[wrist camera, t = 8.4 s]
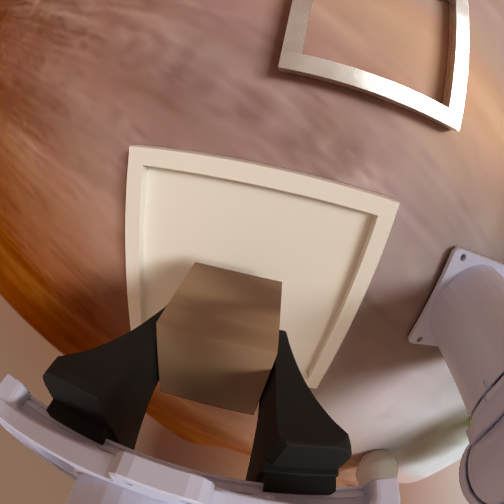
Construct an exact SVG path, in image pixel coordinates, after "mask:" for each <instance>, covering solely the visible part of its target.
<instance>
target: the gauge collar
mask: <svg viewBox="0 0 504 504" xmlns="http://www.w3.org/2000/svg"><path fill="white" fill-rule="evenodd" d="M446 1H448V2H449V45H448V59H447V70H446V78H445V86H444V93H443V100H442V104H441V103H439V102H437V101H435V100H433V99H431V98H429V97H427V96H424V95H422V94H420V93H418V92H416V91H414V90H411V89H409V88H407V87H405V86H402V85H400V84H397V83H395V82H392V81H390V80H387V79H385V78H382V77H379V76H377V75H374V74H371V73H368V72H365V71H362V70H359V69H356V68H353V67H350V66H347V65H343V64H340V63H336V62H333V61H329V60H325V59H321V58H317V57H313V56H309V55H304V54H302V51H303V46H304V41H305V36H306V31H307V27H308V22H309V17H310V12H311V7H312V2H313V0H293V1H292V5H291V10H290V14H289V19H288V23H287V28H286V32H285V37H284V42H283V46H282V51H281V56H280V60H279V65H278V70H279V71H281V72H286V73H291V74H296V75H300V76H305V77H309V78H313V79H317V80H321V81H325V82H329V83H333V84H336V85H340V86H343V87H346V88H350V89H353V90H356V91H359V92H362V93H365V94H368V95H371V96H374V97H377V98H379V99H382V100H385V101H387V102H390V103H393V104H395V105H398V106H400V107H402V108H405V109H407V110H410V111H412V112H414V113H416V114H419V115H421V116H423V117H425V118H427V119H429V120H432V121H434V122H436V123H438V124H440V125H442V126H444V127H446V128H448V129H450V130H454V131H460V126H461V121H462V115H463V108H464V102H465V94H466V86H467V75H468V62H469V7H468V0H446Z"/></svg>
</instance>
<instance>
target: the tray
mask: <svg viewBox="0 0 504 504" xmlns="http://www.w3.org/2000/svg"><path fill="white" fill-rule="evenodd" d="M399 204H400V203H399V202H397V201H396V200H395V199H393V198H391V197H388V196H385V195H382V194H379V193H376V192H372V191H369V190H366V189H363V188H359V187H356V186H352V185H349V184H345V183H342V182H338V181H335V180H331V179H327V178H323V177H320V176H316V175H312V174H308V173H304V172H300V171H295V170H291V169H287V168H282V167H278V166H273V165H269V164H264V163H259V162H254V161H249V160H244V159H239V158H233V157H228V156H222V155H216V154H210V153H204V152H197V151H190V150H183V149H176V148H168V147H160V146H151V145H141V144H139V145H133V146H130V148H129V159H128V171H127V187H126V213H125V254H126V280H127V296H128V308H129V319H130V329H131V330H133V329H135V328H136V327H138V326H139V325H141V324H142V323H144V322H145V321H147V320H148V319H149V318H151V317H152V316H153V315H155V314H156V313H157V312H159V311H160V310H161V309H163V308H164V307H165V306H167V305H168V303H169V302H170V300H171V298H172V297H173V295H174V294H175V292H176V291H177V289H178V287H179V286H180V284H181V283H182V281H183V280H184V278H185V277H186V275H187V274H188V272H189V271H190V269H191V268H192V266H193V265H194V263H195V262H198V263H202V264H206V265H210V266H214V267H219V268H223V269H227V270H232V271H236V272H240V273H245V274H249V275H253V276H258V277H262V278H267V279H271V280H276V281H280V282H282V295H281V311H280V326H279V330H283V331H286V333H287V336H288V340H289V344H290V347H291V350H292V353H293V355H294V358H295V360H296V363H297V365H298V368H299V370H300V372H301V374H302V376H303V378H304V380H305V382H306V384H307V386H308V387H309V388H316V389H317V387H318V385H319V384H320V382H321V380H322V378H323V377H324V375H325V373H326V371H327V370H328V368H329V366H330V364H331V362H332V360H333V359H334V357H335V355H336V353H337V351H338V349H339V347H340V345H341V343H342V342H343V340H344V338H345V336H346V334H347V332H348V330H349V328H350V326H351V323H352V321H353V319H354V317H355V315H356V313H357V311H358V309H359V307H360V304H361V302H362V300H363V298H364V296H365V293H366V291H367V289H368V286H369V284H370V282H371V279H372V277H373V275H374V272H375V270H376V267H377V265H378V262H379V260H380V257H381V255H382V252H383V249H384V247H385V244H386V241H387V239H388V236H389V233H390V230H391V228H392V225H393V222H394V219H395V216H396V213H397V210H398V207H399Z"/></svg>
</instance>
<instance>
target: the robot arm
mask: <svg viewBox="0 0 504 504" xmlns="http://www.w3.org/2000/svg"><path fill="white" fill-rule="evenodd" d="M462 255H463V257H462V258H461V256H462ZM460 258H461V259H460ZM165 308H166V306H165V307H164V308H163V309H161V310H160V311H159V312H157V313H156V314H155V315H153V316H152V317H151V318H149V319H148V320H147V321H145V322H144V323H142V324H141V325H139V326H138V327H136V328H135V329H133V330H131V331H130V332H128V333H127V334H125V335H123V336H121V337H119V338H117V339H115V340H113V341H111V342H109V343H106V344H104V345H101V346H99V347H96V348H93V349H90V350H87V351H83V352H79V353H75V354H70V355H64V356H59V357H57V358H56V360H55V361H54V362H53V363H52V364H51V366H50V367H49V368H48V369H47V371H46V372H45V374H44V375H43V380H44V382H45V385H46V387H47V388H48V390H49V392H50V394H51V396H52V397H53V401H52V402H51V404H50V405H49V407H48V406H47V405H45V404H44V403H42V402H40V401H39V400H37V399H36V398H35V397H33V396H32V395H30V392H29V391H28V389H27V388H26V386H25V385H24V384H23V383H21V382H20V381H19V380H17V379H16V378H15V377H13V376H12V375H11V374H7V376H6V377H5V378H4V379H3V380H2V382H1V383H0V423H1V424H2V426H3V427H4V428H5V429H6V430H7V431H8V432H10V433H11V434H12V435H13V436H14V437H16V438H17V439H18V440H19V441H21V442H22V443H23V444H24V445H26V446H27V447H28V448H30V449H31V450H32V451H33V452H35V453H36V454H38V455H39V456H40V457H41V458H43V459H44V460H46V461H47V462H48V463H50V464H52V465H53V466H54V467H56V468H57V469H59V470H61V471H62V472H64V473H65V474H67V475H68V476H70V477H71V478H73V479H75V480H76V481H75V483H74V485H73V487H72V490H71V492H70V494H69V496H68V498H67V500H66V502H65V504H401V502H400V494H399V487H398V478H397V477H392V478H383V479H376V480H372V481H370V482H368V483H367V484H365V485H364V486H347V487H336V477H337V476H338V468H339V467H341V466H342V465H343V464H344V463H346V462H347V461H348V460H349V459H350V458H351V455H352V452H351V444H350V440H349V436H348V434H347V433H346V432H345V431H344V430H343V429H342V428H341V427H340V426H338V425H337V424H336V423H335V422H334V421H333V420H332V419H331V417H330V416H329V415H328V414H327V413H326V412H325V410H324V409H323V408H322V406H321V405H320V404H319V403H318V401H317V400H316V398H315V397H314V395H313V394H312V392H311V391H310V389H309V387H308V386H307V384H306V382H305V380H304V378H303V376H302V374H301V372H300V370H299V368H298V365H297V363H296V360H295V358H294V355H293V353H292V350H291V347H290V344H289V340H288V336H287V333H286V331H283V330H279V340H278V353H277V356H276V358H275V361H274V364H273V366H272V369H271V372H270V374H269V377H268V380H267V382H266V385H265V387H264V390H263V392H262V395H261V397H260V400H259V414H258V421H257V427H256V433H255V438H254V443H253V448H252V453H251V458H250V463H249V467H248V472H247V476H246V480H239V479H234V478H228V477H223V476H218V475H213V474H209V473H205V472H201V471H197V470H193V469H189V468H186V467H182V466H179V465H176V464H172V463H169V462H166V461H163V460H160V459H157V458H154V457H151V456H148V455H146V454H143V453H140V452H138V451H135V450H134V448H135V444H136V441H137V437H138V433H139V430H140V427H141V424H142V421H143V418H144V415H145V413H146V410H147V407H148V404H149V402H150V399H151V396H152V394H153V391H154V389H155V387H156V385H157V383H158V381H159V368H158V352H157V328H156V322H157V321H158V319H159V317H160V316H161V314H162V313H163V311H164V309H165ZM419 337H420V338H419ZM418 338H419V339H418ZM408 340H409V342H410V343H412V344H421V345H430V346H438V347H439V349H440V351H441V353H442V355H443V357H444V359H445V361H446V363H447V366H448V368H449V370H450V372H451V374H452V376H453V378H454V381H455V383H456V385H457V387H458V390H459V392H460V394H461V397H462V399H463V401H464V404H465V406H466V409H467V411H468V414H469V417H470V419H471V421H472V422H471V425H470V426H469V428H468V429H467V430H466V433H467V436H468V439H469V445H468V446H467V448H466V449H465V451H464V453H463V455H462V458H461V462H460V467H459V481H460V486H461V490H462V492H463V495H464V496H465V498H466V500H467V501H468V502H469V503H470V504H504V264H503V263H500V262H498V261H495V260H493V259H490V258H487V257H485V256H482V255H479V254H477V253H474V252H471V251H469V250H466V249H463V248H460V247H455V248H454V249H453V250H452V251H451V253H450V256H449V258H448V260H447V263H446V265H445V267H444V269H443V272H442V274H441V276H440V278H439V280H438V282H437V284H436V286H435V288H434V290H433V292H432V294H431V296H430V298H429V300H428V302H427V304H426V306H425V308H424V309H423V311H422V313H421V315H420V317H419V318H418V320H417V322H416V324H415V325H414V327H413V329H412V331H411V332H410V334H409V336H408Z"/></svg>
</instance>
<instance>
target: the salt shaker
mask: <svg viewBox="0 0 504 504" xmlns="http://www.w3.org/2000/svg"><path fill="white" fill-rule="evenodd" d="M397 475H398V460H397V459H396V458H395V457H394V456H393V455H392V454H391V453H390V452H389V450H388V449H378V450H374V451H371V452H369V453H366V454H364V455H363V457H362V458H361V461H360V463H359V465H358V467H357V469H356V477H357V481H358V484H359V486H364V485H365V484H367V483H368V482H370V481H372V480H376V479H383V478H392V477H397Z"/></svg>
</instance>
